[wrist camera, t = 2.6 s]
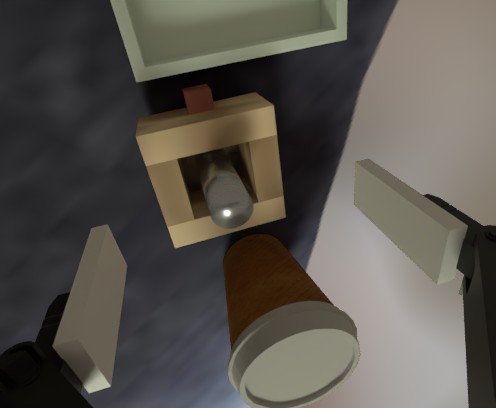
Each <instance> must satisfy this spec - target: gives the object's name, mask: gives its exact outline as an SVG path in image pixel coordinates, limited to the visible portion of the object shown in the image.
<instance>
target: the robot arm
mask: <svg viewBox="0 0 496 408" xmlns="http://www.w3.org/2000/svg"><path fill="white" fill-rule="evenodd" d="M354 205H355V206H356V207H357V208H358V209H359V210H360V211H361V212H362V213H363V214H364V215H365V216H366V217H367V218H368V219H369V220H370V221H371V222H373V223H374V224H375V225H376V226H377V227H378V228H379V229H380V230H381V231H382V232H383V233H384V234H385V235H386V236H387V237H388V238H389V239H390V240H391V241H392V242H393V243H394V244H395V245H396V246H397V247H398V248H400V250H402V251H403V252H404V253H405V254H406V255H407V256H408V257H409V258H410V259H411V260H412V261H413V262H414V263H415V264H416V265H417V266H418V267H419V268H420V269H422V271H423V272H424V273H425V274H426V275H427V276H429V277H430V278H431V279H432V280H433V281H434V282H435V283H436V284H441V283H444V282H447V281H451V280H454V277H455V273H456V269H458V270H459V271H460V272H462V273H463V274H464V277H463V281H462V284H461V288H460V291H459V294H460V295H462V293H463V301H464V302H463V303H464V323H465V342H466V363H467V382H468V401H469V408H496V226H492V225H487V226H483V225H481V224H479V223H478V222H476V221H475V220H473V219H472V218H470V217H468V216H467V215H466V214H464V213H462V212H461V211H459V210H457V209H456V208H454V207H453V206H452V205H449V204H448V203H447V202H445V201H444V200H442V199H441V198H438V197H435V196H433V195H430V194H426V195H422V194H420V193H419V192H417V191H416V190H414V189H413V188H411V187H410V186H408V185H407V184H405V183H404V182H402V181H401V180H399V179H398V178H396V177H395V176H393V175H392V174H391V173H389V172H388V171H386V170H385V169H383V168H382V167H380V166H379V165H377V164H375V163H374V162H373V161H371V160H370V159H365V160H361V161H357V162H355V193H354ZM126 271H127V264H126V262H125V260H124V258H123V256H122V254H121V252H120V250H119V248H118V245H117V243H116V241H115V239H114V237H113V235H112V233H111V231H110V229H109V226H108V224H107V225H103V226H99V227H95V228H91V231H90V234H89V237H88V240H87V243H86V246H85V249H84V253H83V256H82V259H81V262H80V265H79V268H78V271H77V274H76V277H75V280H74V283H73V286H72V289H71V292H69V293H65V294H62V295H58V296H57V297H56V299H55V300H54V301H53V302H52V304H51V305H50V306H49V308H48V311H47V313H46V316H45V320H44V321H43V323H42V326H41V327H42V329H40V331H39V334H38V336H37V339H36V341H35V343H34V342H32V341H29V342H22V343H19V344H16V345H14V346H13V347H11V348H9V349H8V350H6V351H5V352H4V353H3V354H2V355H1V356H0V389H1V390H0V408H93V407H92V406H91V405H90V404H89V403H88V401H87V400H86V399H85V398H84V397H83V396H82V395H81V394H80V393H81V389H82V385H83V386H84V387H85V389H86V390H87V391H88V392H89V393H91V392H95V391H98V390H101V389H104V388H107V387H111V382H112V374H113V367H114V360H115V352H116V345H117V338H118V330H119V323H120V315H121V308H122V301H123V293H124V286H125V279H126Z"/></svg>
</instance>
